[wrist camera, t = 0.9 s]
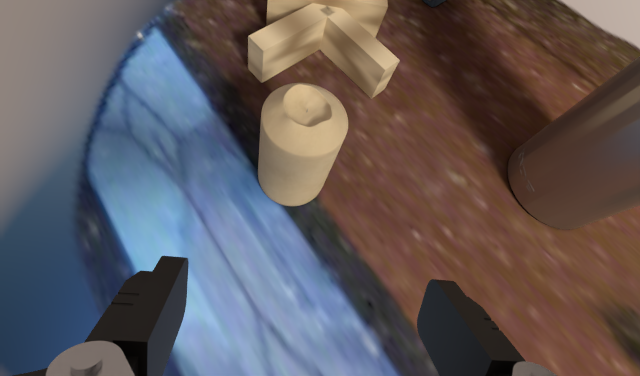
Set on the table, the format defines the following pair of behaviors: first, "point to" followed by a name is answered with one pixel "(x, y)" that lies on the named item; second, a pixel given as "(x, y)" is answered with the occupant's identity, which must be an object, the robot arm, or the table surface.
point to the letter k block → (324, 39)
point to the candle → (299, 142)
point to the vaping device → (433, 2)
